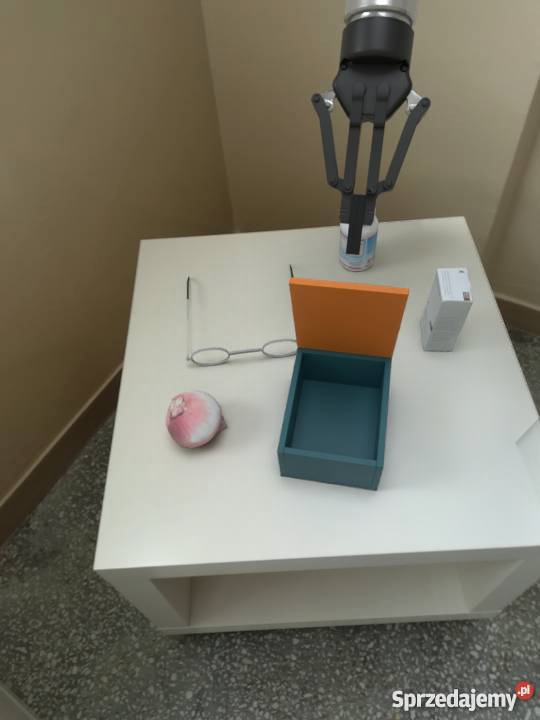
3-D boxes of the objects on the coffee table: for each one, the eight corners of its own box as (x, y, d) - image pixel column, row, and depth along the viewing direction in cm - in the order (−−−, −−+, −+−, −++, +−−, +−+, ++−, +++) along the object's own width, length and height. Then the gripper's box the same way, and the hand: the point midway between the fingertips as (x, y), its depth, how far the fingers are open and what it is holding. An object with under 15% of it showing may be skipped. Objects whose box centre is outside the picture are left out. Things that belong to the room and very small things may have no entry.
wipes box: (376, 491, 68) (383, 467, 62) (280, 476, 70) (276, 451, 64) (385, 387, 76) (391, 357, 70) (299, 377, 78) (297, 346, 72)
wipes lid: (408, 294, 55) (409, 288, 55) (288, 283, 57) (289, 276, 57) (392, 358, 69) (392, 352, 70) (297, 347, 71) (297, 342, 72)
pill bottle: (364, 242, 93) (369, 190, 83) (380, 265, 89) (388, 213, 80) (332, 253, 92) (334, 201, 83) (347, 277, 89) (351, 225, 79)
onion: (181, 401, 78) (169, 375, 72) (232, 407, 76) (225, 381, 70) (166, 451, 73) (152, 428, 67) (220, 459, 72) (211, 436, 66)
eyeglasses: (188, 369, 80) (183, 354, 77) (188, 280, 91) (183, 263, 88) (306, 355, 80) (305, 339, 77) (291, 267, 91) (290, 250, 88)
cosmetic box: (419, 320, 83) (434, 265, 73) (449, 320, 82) (467, 265, 72) (423, 353, 79) (439, 300, 69) (454, 353, 79) (474, 300, 69)
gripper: (437, 42, 59) (408, 259, 63) (320, 40, 61) (300, 249, 66) (447, 12, 51) (412, 259, 56) (313, 11, 53) (292, 249, 58)
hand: (352, 254), depth 61 cm, fingers closed
